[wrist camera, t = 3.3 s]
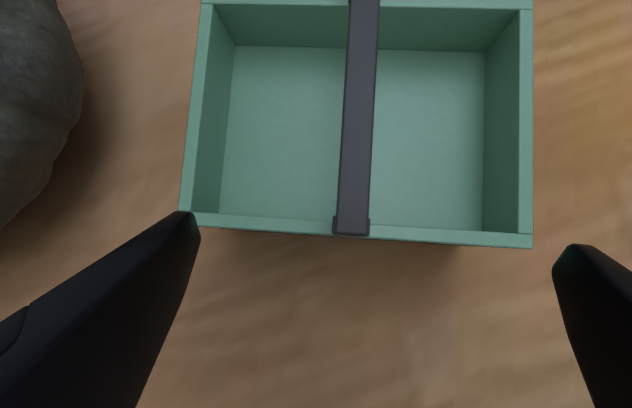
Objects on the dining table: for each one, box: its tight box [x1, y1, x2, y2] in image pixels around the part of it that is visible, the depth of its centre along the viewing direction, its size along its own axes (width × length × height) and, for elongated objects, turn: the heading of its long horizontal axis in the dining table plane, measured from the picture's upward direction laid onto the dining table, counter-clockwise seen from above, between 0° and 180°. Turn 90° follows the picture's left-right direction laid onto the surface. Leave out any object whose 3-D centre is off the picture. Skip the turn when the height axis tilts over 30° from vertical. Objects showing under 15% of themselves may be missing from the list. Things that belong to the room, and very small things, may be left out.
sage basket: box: [178, 0, 534, 249], centre depth 14 cm, size 11×15×8 cm
